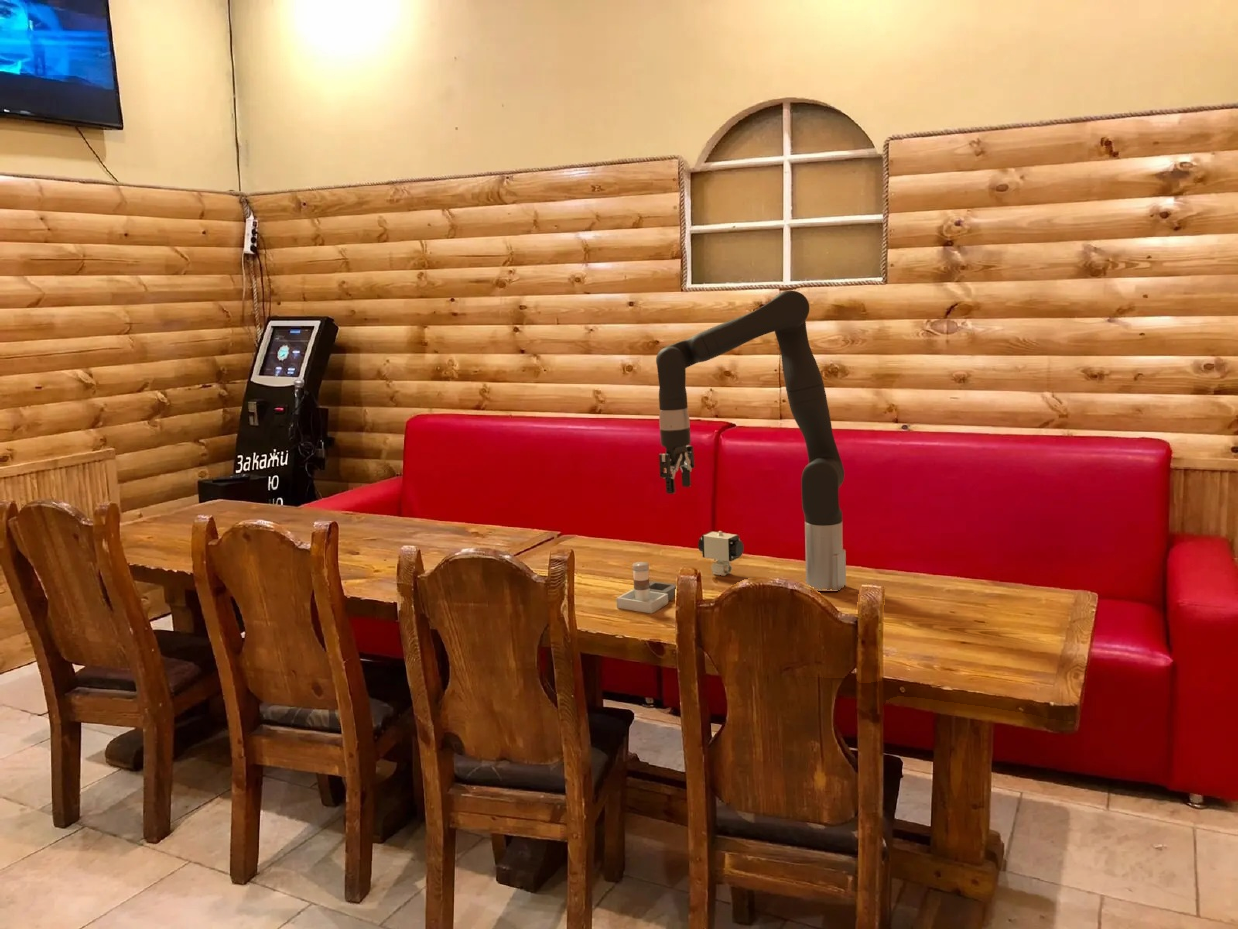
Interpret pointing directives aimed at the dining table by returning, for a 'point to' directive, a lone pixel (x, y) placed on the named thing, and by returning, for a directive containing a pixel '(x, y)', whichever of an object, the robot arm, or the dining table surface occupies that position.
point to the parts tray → (642, 602)
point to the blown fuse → (641, 581)
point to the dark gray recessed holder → (663, 588)
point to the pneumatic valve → (721, 550)
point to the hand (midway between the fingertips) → (678, 489)
